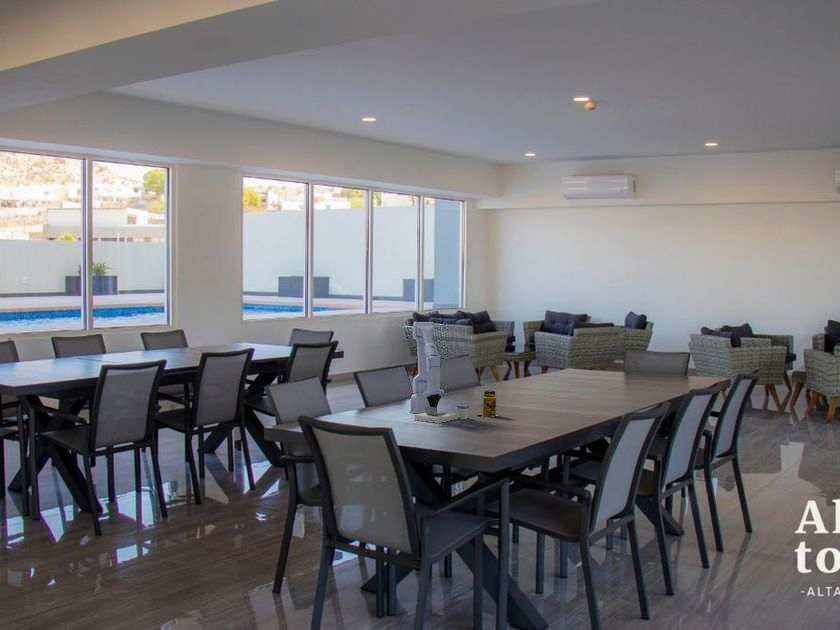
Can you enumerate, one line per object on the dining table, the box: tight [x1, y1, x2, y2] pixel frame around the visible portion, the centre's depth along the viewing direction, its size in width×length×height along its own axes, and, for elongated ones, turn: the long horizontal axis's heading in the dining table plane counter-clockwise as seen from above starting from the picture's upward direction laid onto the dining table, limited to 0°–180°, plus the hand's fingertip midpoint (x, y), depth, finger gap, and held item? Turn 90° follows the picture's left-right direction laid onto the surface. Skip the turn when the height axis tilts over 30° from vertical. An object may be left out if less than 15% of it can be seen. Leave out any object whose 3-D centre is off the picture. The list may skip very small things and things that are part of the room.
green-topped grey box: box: [456, 404, 470, 420], centre depth 393 cm, size 4×4×6 cm
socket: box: [413, 411, 459, 424], centre depth 389 cm, size 14×16×2 cm
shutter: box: [425, 406, 446, 416], centre depth 388 cm, size 6×7×4 cm
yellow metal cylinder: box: [482, 390, 499, 418], centre depth 401 cm, size 7×8×12 cm
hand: (433, 411), depth 387 cm, fingers closed
